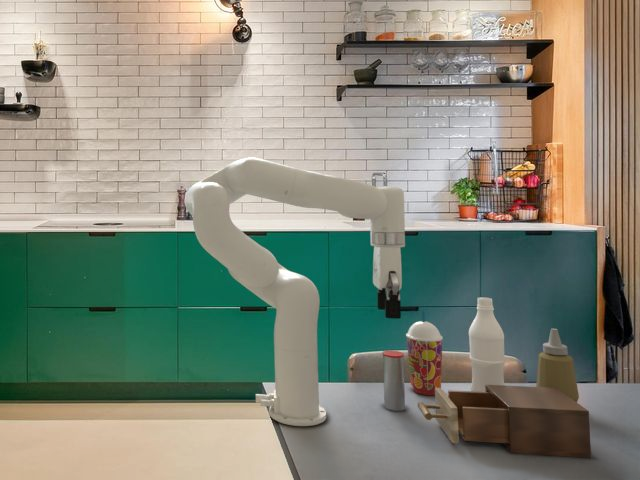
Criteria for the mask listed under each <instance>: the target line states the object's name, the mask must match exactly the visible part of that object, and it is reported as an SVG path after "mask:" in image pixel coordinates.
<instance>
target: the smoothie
mask: <svg viewBox="0 0 640 480" xmlns="http://www.w3.org/2000/svg"><path fill="white" fill-rule="evenodd" d="M425 312H426V311H425V309H422V310H421V320H419V321H415V322H414V323H412V324H411V325H410V327H409V328H408V331H407V333H405V337H406V347H407V355H408V356H407V357H408V367H409V377H410V386H411V387H412V389H413V391H414V392H415V393H417V394H420V395H424V396H435V388H441V389H442V368H443V367H442V365H443V363H442V362H443V361H442V360H443V335H442V334H441V332H440V330H439V329H438V328H437V326H435V325H434V324H433V323H431V322H430V321H426V313H425Z"/></svg>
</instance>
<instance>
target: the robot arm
mask: <svg viewBox="0 0 640 480" xmlns="http://www.w3.org/2000/svg"><path fill="white" fill-rule="evenodd" d="M246 195H249V196H254V197H257V198H262V199H266V200H270V201H275V202H277V203H282V204H287V205H290V206H294V207H298V208H299V207H300V208H305V209H320V210H327V211H332V212H337V213H338V214H340V215H341V216H343V217H345V218H350V219H361V220H369V225H370V226H369V227H370V228H369V229H370V231H369V232H370V233H369V235H370V246H371V247H373V257H372V258H373V259H372V284H373V285H374V287H376V288H377V293H376V295H377V296H376V297H377V298H376V299H377V300H376V301H377V309H378V310H380V311H381V310H384V313H385V314H384V315H385V316H384V317H385V318H386V319H395V320H397V319H398V320H399V319H401V317H402V310H401V307H402V306H401V304H402V303H401V293H400V290H402V286H403V285H402V283H403V276H402V275H403V274H402V273H403V271H402V253H401V251H402V250H401V248H405V247H406V229H405V228H406V226H405V222H406V221H405V220H406V219H405V192H404V190H403V189H402V187H401V188H400V187H396V186H379V187H376V186H375V185H372V184H368V183H364V182H360V181H358V180H353V179H348V178H343V177H339V176H335V175H329V174H325V173H321V172H317V171H311V170H306V169H302V168H298V167H294V166H290V165H286V164H282V163H278V162H275V161H270V160H267V159H264V158H263V159H262V158H258V157H245V158H241V159H237V160H235V161H233V162H231V163H229V164H227V165H226V166H224V167H223V168H221V169H219V170H217V171H216V172H214V173H212V174H210V175H208V176H206V177H204V178H203V179H201V180H200V181H198V182H196V183H194V184H193V185H191V186H190V187H189V188H188V189H187V191H186V193H185V195H184V206H185V209H186V211H187V212H188V213H189V215H191V216H192V225H193V231H194V233H195V236H196V239H197V241H198V243H199V244H200V246H201V247H202V248H203V249H204V250H205V251H206V252H207V253H208V254H209V255H210V256H212V257H213V258H214V260H216V261H218V262H219V263H220V264H221V265H222V266H224V267H225V268H226V269H227V271H228V273H229V275H230V276H231V277H232V279H234V280H235V281H236V282H238V283H239V284H241V286H243V287H245V288H246V289H247V290H248V291H249V292H251V293H253V294H254V295H255V296H257V298H259V299H261V300H262V301H264V302H265V303H266V304H267V305H269V306H270V307H271V308H274V309H276V314H275V320H274V327H273V347H274V348H273V349H274V350H273V351H274V353H273V354H274V387H275V389H274V390H273V392H272V393H271V392H270V393H269V394H263V393H255V403H256V404H260V407H269V408H268V413H269V414H268V415H269V417H270V418H271V419H273V420H274V421H275V422H278V423H280V424H283V425H288V426H292V427H293V426H294V427H311V426H317V425H320V424H322V423H324V422H325V421H327V410H326V409H325V408H324V407H323V406H321V405H320V396H319V395H320V392H319V356H318V353H319V352H318V319H319V313H320V312H319V311H320V303H321V302H320V300H321V299H320V294H319V293H320V292H319V290H318V288H317V286H316V285H315V284H314V282H313V281H312V280H311V279H309V278H308V277H307V276H305V275H304V274H303V275H302V274H300V273H297V272H294V271H291V270H289V269H287V268H286V267H284V266H283V265H281V264H280V263H279V262H278V260H277V259H276V257H275V256H274V254H273V253H272V252H271V251H270V250H269V249H267V248H266V247H264V246H262V245H261V244H259V243H258V242H256V241H255V240H254V239H252V237H249V236H248V235H247V234H245V233H244V231H243V230H241V229H240V228H238V226H236V225H235V223H234V222H233V221H232V219H231V215H230V205H231V204H233V203H234V202H236V201H237V200H239V199H241V198H242V197H244V196H246Z"/></svg>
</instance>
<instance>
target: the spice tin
mask: <svg viewBox="0 0 640 480" xmlns="http://www.w3.org/2000/svg"><path fill="white" fill-rule="evenodd" d="M381 354H382V367H383V368H382V369H383V370H382V371H383V391H384V393H383V397H384V401H383V402H384V408H385V409H386V410H388V411H392V412H402V411H403V412H404V411H405V410H406V397H405V396H406V394H405V367H404V366H405V365H404V357H405V354H404V353H403V352H401V351H399V350H384V351H382V353H381Z"/></svg>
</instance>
